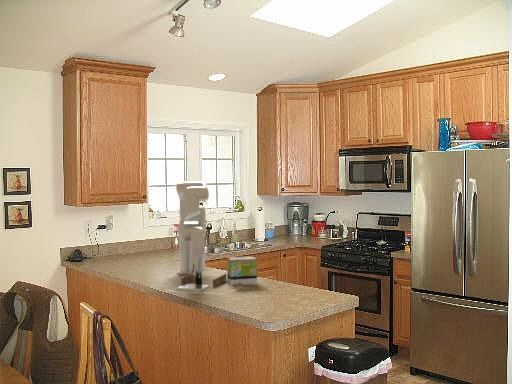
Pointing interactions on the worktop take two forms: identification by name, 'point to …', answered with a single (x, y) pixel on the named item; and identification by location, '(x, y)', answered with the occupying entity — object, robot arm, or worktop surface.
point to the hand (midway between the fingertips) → (198, 284)
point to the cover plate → (192, 288)
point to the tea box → (242, 270)
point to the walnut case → (212, 283)
